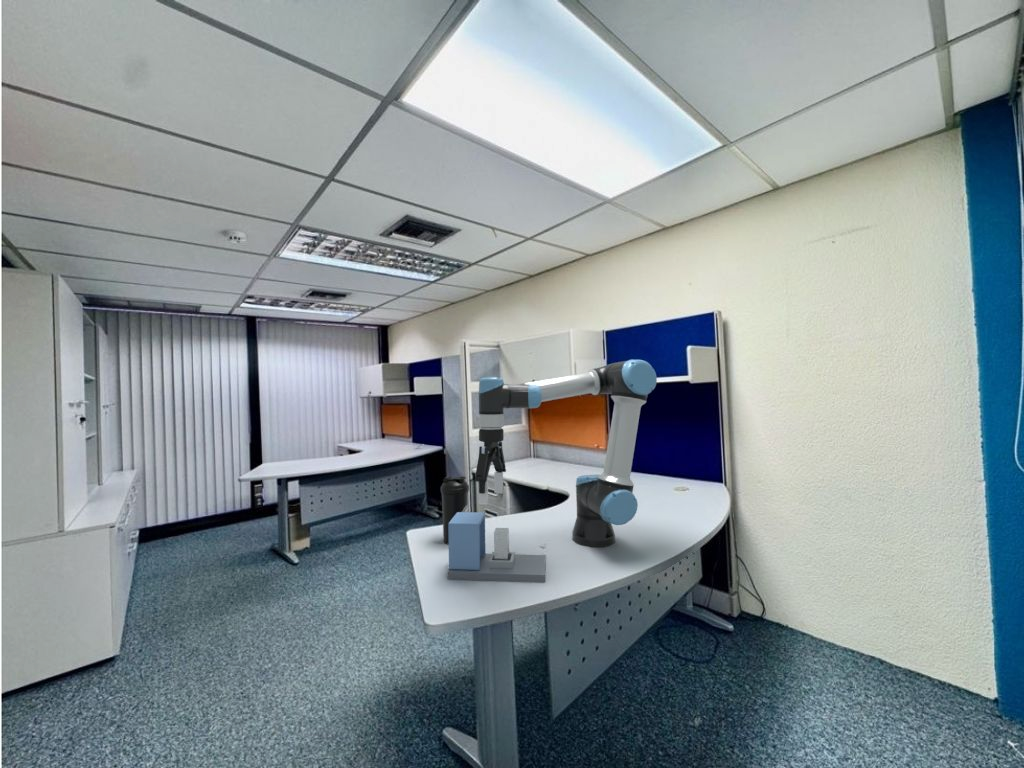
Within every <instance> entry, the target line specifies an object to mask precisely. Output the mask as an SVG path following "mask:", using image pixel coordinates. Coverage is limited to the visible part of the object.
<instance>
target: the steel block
mask: <svg viewBox="0 0 1024 768" xmlns="http://www.w3.org/2000/svg"><path fill="white" fill-rule="evenodd" d="M493 552H494V560H506V561H509V552H510V528H509V527H495V529H494V531H493Z"/></svg>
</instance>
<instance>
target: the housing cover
mask: <svg viewBox="0 0 1024 768" xmlns="http://www.w3.org/2000/svg"><path fill="white" fill-rule="evenodd" d="M448 529H449V545H448V570H449V569H467V570H480V556H485V555H486V554H487V551H486V512H478V511H477V512H473V511H472V512H471V511H468V512H457V513H456V514H455V516H454V517H453V518H452V520H451V521H450V522H449V523H448Z"/></svg>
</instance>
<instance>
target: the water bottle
mask: <svg viewBox="0 0 1024 768" xmlns="http://www.w3.org/2000/svg"><path fill="white" fill-rule="evenodd" d="M465 479H467V477H466V476H456V477H455V476H454V477H451V475H449V476H448V475H447V476H446V477H444V478H443V480H442V484H441V486H440V493H441V505H442V507H441V508H442V533H443V543H444V544H446V545H448V546H449V529H448V523H449V522H450V521H451V520H452V518H453V517H454V516H455V514H456V513H457V512H469V511H468V509H469V507H468V506H469V504H468V503H469V499H468V498H469V491H470V485H469V484H468V482H467V481H466V480H465Z"/></svg>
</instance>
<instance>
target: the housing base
mask: <svg viewBox="0 0 1024 768" xmlns="http://www.w3.org/2000/svg"><path fill="white" fill-rule="evenodd" d="M515 553H516V552H514V551H509V561H506V560H494V551H492V552H491V553H486V555H485V556H480V570H467V569H449V568H448V571H447V580H453V581H454V580H456V581H457V580H458V581H485V582H486V581H492V582H496V581H497V582H521V583H522V582H523V583H525V582H526V583H527V582H528V583H529V582H530V583H546V570H547V569H546V567H547V565H546V564H547V556H546V555H547V554H525V553H524V554H523V553H522V554H515Z"/></svg>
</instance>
